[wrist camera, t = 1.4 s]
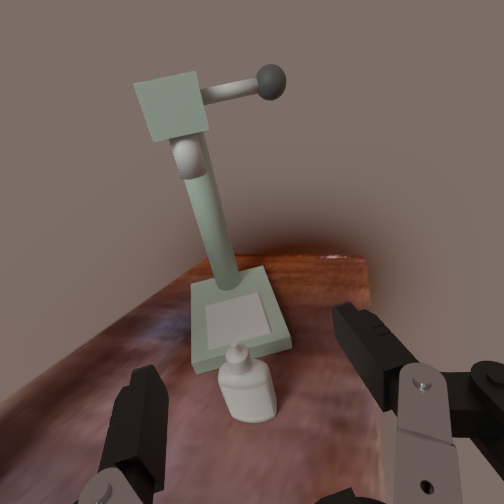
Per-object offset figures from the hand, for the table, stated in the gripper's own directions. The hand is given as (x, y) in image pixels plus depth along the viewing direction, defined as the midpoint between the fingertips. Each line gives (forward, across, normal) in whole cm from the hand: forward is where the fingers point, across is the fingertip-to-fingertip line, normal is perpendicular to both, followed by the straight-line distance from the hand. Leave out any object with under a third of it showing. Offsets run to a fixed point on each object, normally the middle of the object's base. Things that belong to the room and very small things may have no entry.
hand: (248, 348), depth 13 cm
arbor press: (+29, -2, +23) cm, 37 cm away
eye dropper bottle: (+13, +2, +24) cm, 27 cm away
